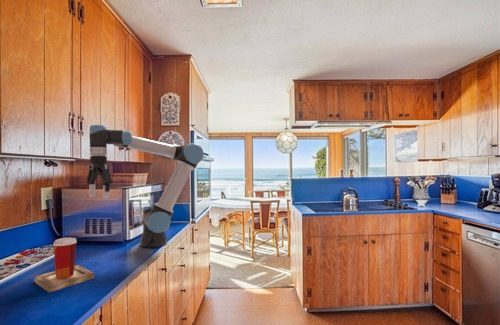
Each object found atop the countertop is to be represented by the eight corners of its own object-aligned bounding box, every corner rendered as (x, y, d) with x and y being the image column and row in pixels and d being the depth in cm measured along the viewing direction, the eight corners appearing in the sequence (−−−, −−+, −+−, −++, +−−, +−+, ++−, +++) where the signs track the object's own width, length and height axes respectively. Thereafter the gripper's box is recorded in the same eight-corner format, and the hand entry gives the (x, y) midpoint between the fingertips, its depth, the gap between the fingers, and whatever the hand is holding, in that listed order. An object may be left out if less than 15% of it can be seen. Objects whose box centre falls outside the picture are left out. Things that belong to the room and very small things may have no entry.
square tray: (77, 269, 122) (77, 264, 122) (94, 278, 113) (94, 273, 113) (34, 281, 109) (34, 276, 109) (48, 292, 100) (48, 286, 100)
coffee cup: (69, 271, 116) (70, 236, 117) (81, 274, 113) (81, 238, 113) (47, 278, 109) (48, 240, 109) (59, 282, 105) (59, 243, 106)
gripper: (78, 156, 141) (79, 197, 141) (104, 154, 127) (105, 199, 127) (93, 156, 147) (94, 195, 147) (119, 155, 133) (120, 197, 133)
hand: (99, 197), depth 137 cm, fingers open, 13 cm apart
